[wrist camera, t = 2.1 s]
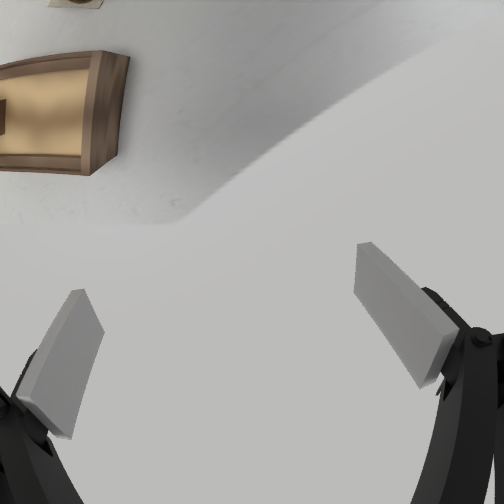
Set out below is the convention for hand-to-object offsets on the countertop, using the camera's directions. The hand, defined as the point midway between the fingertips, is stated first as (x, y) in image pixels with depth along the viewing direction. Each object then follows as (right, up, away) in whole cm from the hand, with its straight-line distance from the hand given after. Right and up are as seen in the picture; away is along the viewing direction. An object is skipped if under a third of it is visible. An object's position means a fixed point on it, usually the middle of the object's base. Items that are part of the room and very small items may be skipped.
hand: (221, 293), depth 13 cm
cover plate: (-22, +16, +8) cm, 28 cm away
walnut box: (-22, +20, +13) cm, 32 cm away
